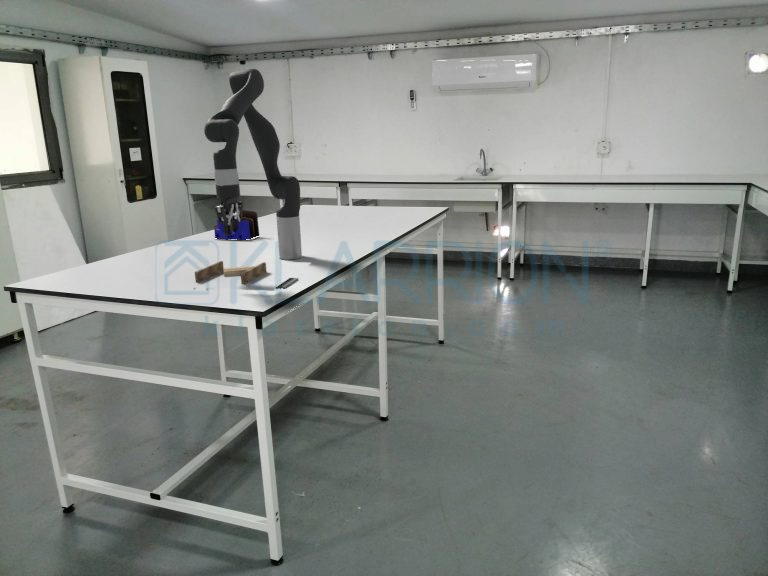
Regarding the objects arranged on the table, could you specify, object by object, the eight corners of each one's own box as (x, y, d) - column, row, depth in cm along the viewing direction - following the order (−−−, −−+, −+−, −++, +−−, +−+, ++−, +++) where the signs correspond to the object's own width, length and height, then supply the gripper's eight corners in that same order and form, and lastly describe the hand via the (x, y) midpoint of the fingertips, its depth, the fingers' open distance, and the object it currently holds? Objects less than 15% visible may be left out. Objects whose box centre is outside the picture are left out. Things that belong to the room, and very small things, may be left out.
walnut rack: (221, 274, 204) (220, 261, 202) (266, 276, 199) (265, 262, 198) (196, 286, 188) (194, 271, 186) (244, 288, 184) (243, 273, 182)
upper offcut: (223, 273, 199) (223, 268, 199) (255, 271, 202) (254, 265, 202) (224, 277, 195) (223, 271, 194) (256, 274, 198) (255, 268, 197)
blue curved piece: (215, 238, 187) (213, 220, 185) (225, 236, 191) (223, 218, 189) (240, 240, 181) (238, 222, 179) (250, 238, 184) (248, 220, 183)
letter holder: (225, 236, 287) (223, 209, 283) (260, 237, 281) (257, 209, 277) (214, 240, 277) (211, 211, 274) (249, 241, 272) (247, 212, 268)
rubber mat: (269, 278, 196) (268, 277, 195) (298, 279, 193) (298, 278, 193) (253, 287, 184) (253, 285, 184) (284, 288, 182) (284, 286, 182)
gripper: (228, 181, 189) (233, 230, 193) (204, 185, 175) (210, 238, 180) (248, 181, 187) (252, 231, 191) (226, 185, 173) (231, 238, 178)
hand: (232, 234), depth 185 cm, fingers closed on blue curved piece, 5 cm apart
